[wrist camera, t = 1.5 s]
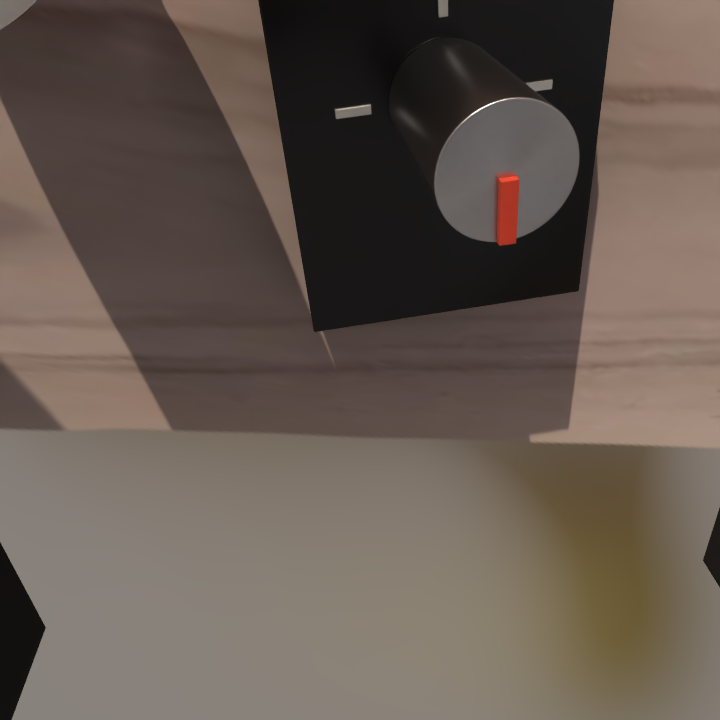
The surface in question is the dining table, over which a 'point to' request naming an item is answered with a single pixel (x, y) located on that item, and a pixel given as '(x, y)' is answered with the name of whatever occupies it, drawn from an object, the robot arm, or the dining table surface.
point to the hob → (393, 163)
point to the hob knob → (482, 141)
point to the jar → (13, 10)
